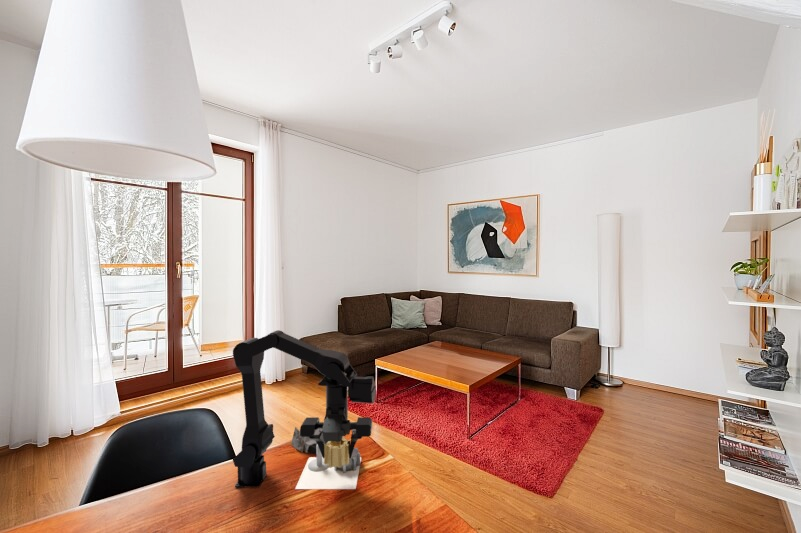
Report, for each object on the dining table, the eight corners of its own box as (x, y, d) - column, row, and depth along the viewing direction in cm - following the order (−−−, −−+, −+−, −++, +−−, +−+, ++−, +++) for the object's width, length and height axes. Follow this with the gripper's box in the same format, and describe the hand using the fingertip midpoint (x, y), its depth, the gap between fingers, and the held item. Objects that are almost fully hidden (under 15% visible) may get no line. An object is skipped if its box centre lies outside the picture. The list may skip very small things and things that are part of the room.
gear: (330, 473, 103) (330, 453, 103) (335, 457, 111) (335, 439, 111) (358, 473, 103) (358, 453, 103) (361, 457, 111) (361, 439, 111)
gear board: (295, 494, 96) (294, 466, 96) (309, 462, 111) (309, 437, 111) (355, 494, 96) (355, 466, 96) (361, 462, 111) (361, 437, 111)
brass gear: (322, 468, 95) (322, 449, 95) (327, 453, 102) (327, 436, 102) (347, 468, 95) (347, 449, 95) (351, 453, 102) (351, 436, 102)
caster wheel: (333, 458, 117) (307, 467, 110) (314, 439, 125) (288, 446, 118) (338, 439, 117) (312, 446, 110) (319, 421, 125) (293, 426, 117)
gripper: (293, 414, 90) (294, 475, 90) (369, 413, 90) (369, 475, 91) (305, 396, 101) (305, 451, 102) (372, 396, 101) (372, 451, 102)
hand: (337, 457), depth 99 cm, fingers closed on brass gear, 7 cm apart
